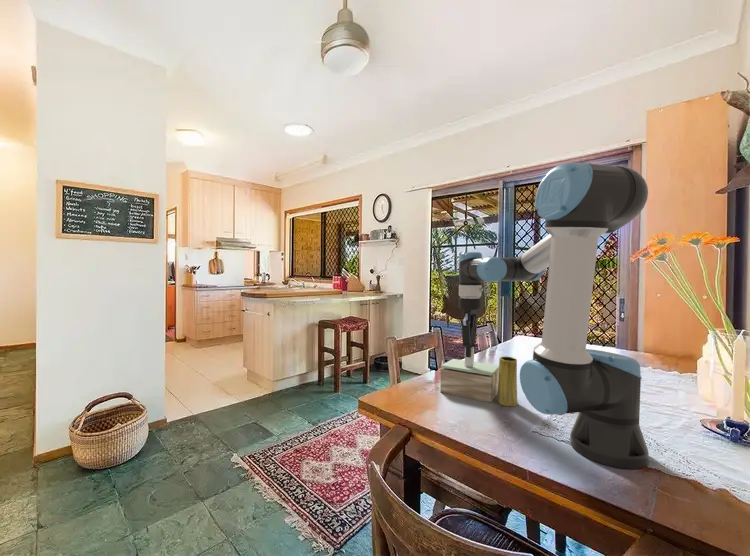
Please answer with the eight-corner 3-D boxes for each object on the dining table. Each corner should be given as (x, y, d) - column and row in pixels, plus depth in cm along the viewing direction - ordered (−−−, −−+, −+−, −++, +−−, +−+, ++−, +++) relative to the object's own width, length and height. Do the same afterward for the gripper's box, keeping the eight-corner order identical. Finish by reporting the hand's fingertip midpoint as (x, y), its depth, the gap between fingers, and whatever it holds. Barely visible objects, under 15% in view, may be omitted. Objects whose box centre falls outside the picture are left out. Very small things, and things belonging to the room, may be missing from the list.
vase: (514, 399, 112) (515, 356, 111) (520, 407, 105) (521, 361, 105) (495, 398, 112) (495, 355, 112) (500, 406, 106) (500, 360, 106)
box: (491, 402, 109) (491, 377, 109) (440, 392, 118) (440, 369, 118) (499, 390, 120) (499, 367, 120) (452, 381, 129) (452, 360, 129)
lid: (491, 375, 109) (491, 373, 109) (441, 367, 118) (441, 365, 118) (499, 367, 120) (499, 365, 120) (452, 360, 129) (453, 358, 129)
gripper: (476, 299, 109) (474, 372, 110) (485, 296, 120) (484, 363, 121) (453, 298, 113) (452, 368, 113) (464, 295, 124) (463, 360, 125)
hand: (469, 365), depth 117 cm, fingers closed
